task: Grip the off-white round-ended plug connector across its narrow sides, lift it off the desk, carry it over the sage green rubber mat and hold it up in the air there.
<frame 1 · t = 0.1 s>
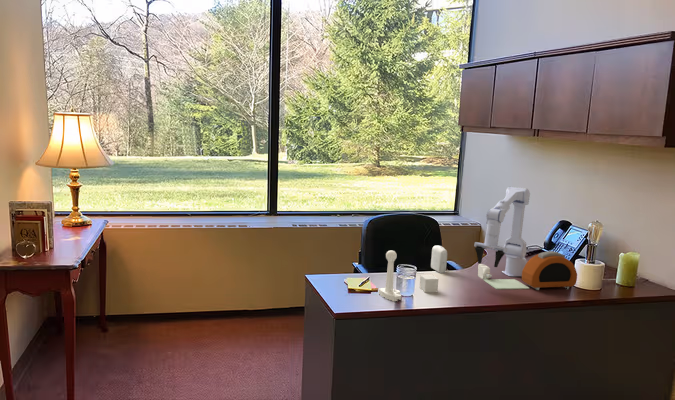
hand: (487, 265, 233), 11 cm above the table, tool pointing down, fingers open, 7 cm apart
orange toaster: (548, 287, 241), on the table
joystick: (391, 297, 217), on the table
connector: (483, 277, 251), on the table
white cube: (428, 290, 228), on the table
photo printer: (438, 270, 260), on the table
rubber mat: (505, 284, 241), on the table
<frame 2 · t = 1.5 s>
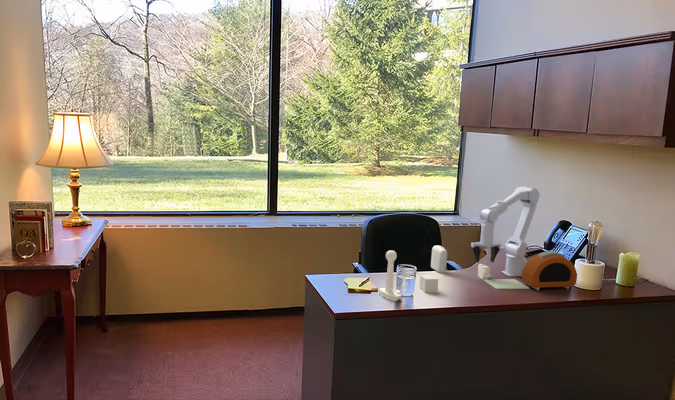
hand: (484, 261, 250), 8 cm above the table, tool pointing down, fingers open, 7 cm apart
nothing on the table moved.
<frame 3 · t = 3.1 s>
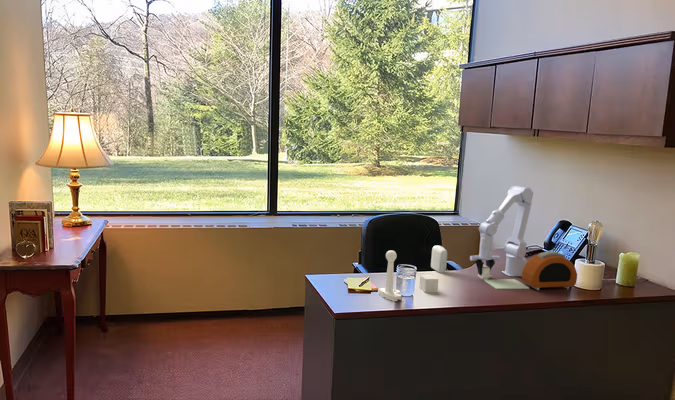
hand: (483, 274, 251), 1 cm above the table, tool pointing down, fingers closed on connector, 3 cm apart
connector: (483, 277, 251), on the table, touching gripper
everything else where it was.
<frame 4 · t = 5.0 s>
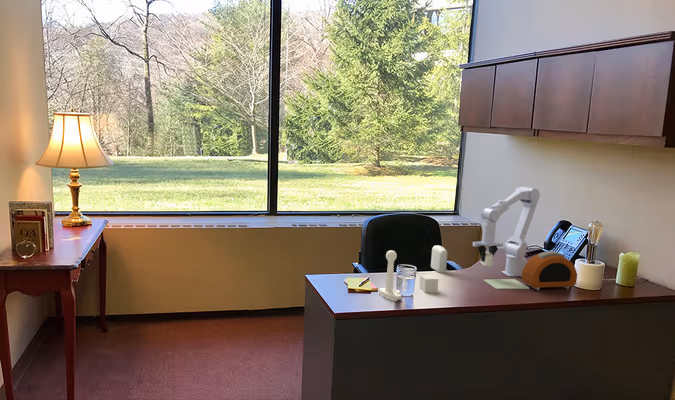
hand: (486, 261, 249), 8 cm above the table, tool pointing down, fingers closed on connector, 3 cm apart
connector: (486, 264, 249), point 7 cm above the table, touching gripper
everything else where it was.
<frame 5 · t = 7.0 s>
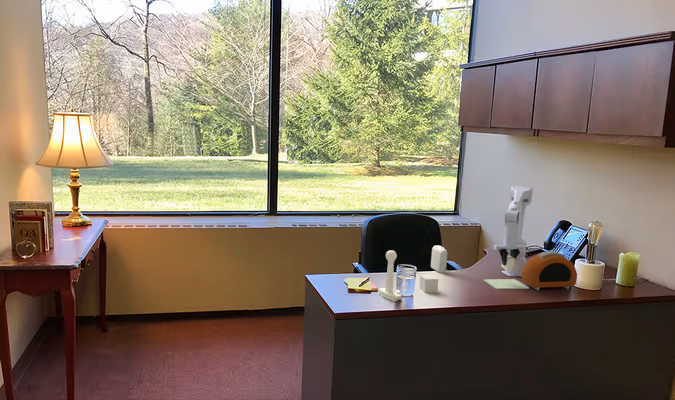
hand: (507, 265, 240), 9 cm above the table, tool pointing down, fingers closed on connector, 3 cm apart
connector: (507, 268, 240), point 8 cm above the table, touching gripper
everything else where it was.
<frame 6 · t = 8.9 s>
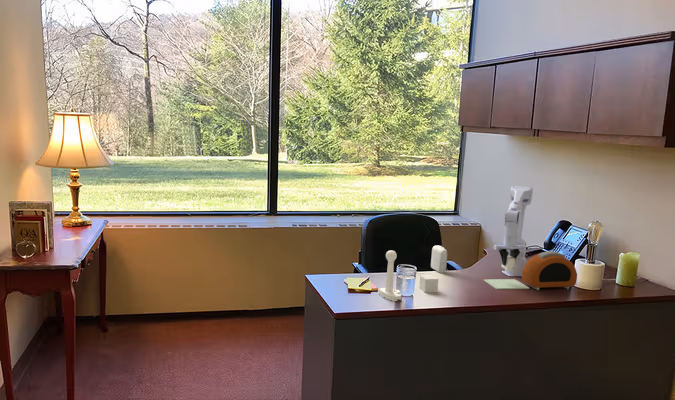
hand: (507, 265, 240), 9 cm above the table, tool pointing down, fingers closed on connector, 3 cm apart
connector: (507, 268, 240), point 8 cm above the table, touching gripper
everything else where it was.
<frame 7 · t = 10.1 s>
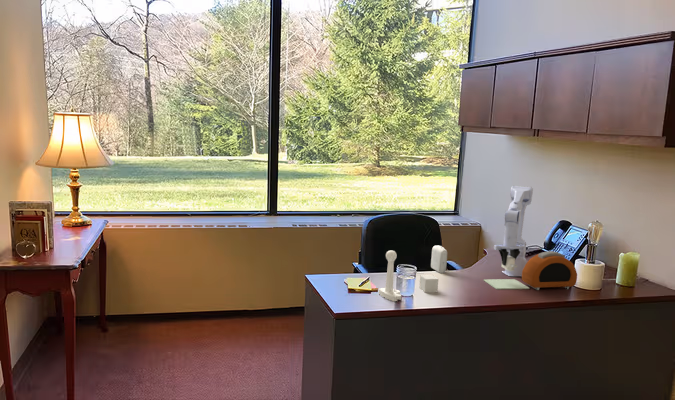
hand: (507, 265, 240), 9 cm above the table, tool pointing down, fingers closed on connector, 3 cm apart
connector: (507, 268, 240), point 8 cm above the table, touching gripper
everything else where it was.
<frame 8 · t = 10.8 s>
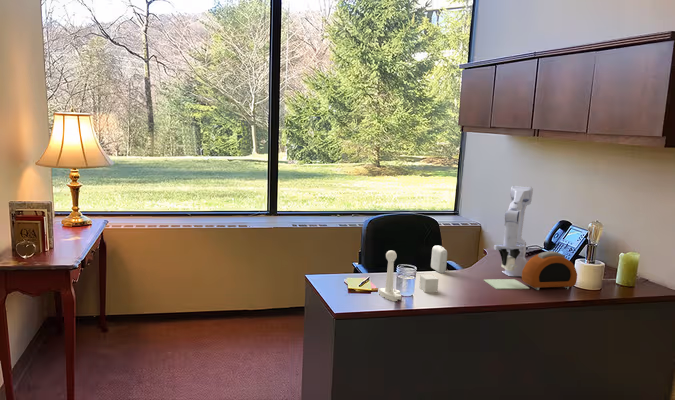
hand: (507, 265, 240), 9 cm above the table, tool pointing down, fingers closed on connector, 3 cm apart
connector: (507, 268, 240), point 8 cm above the table, touching gripper
everything else where it was.
at the end: the gripper is holding connector; connector inside the target area on the rubber mat (0.0 cm from its centre), point 7.7 cm above the rubber mat's base; connector touching gripper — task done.
